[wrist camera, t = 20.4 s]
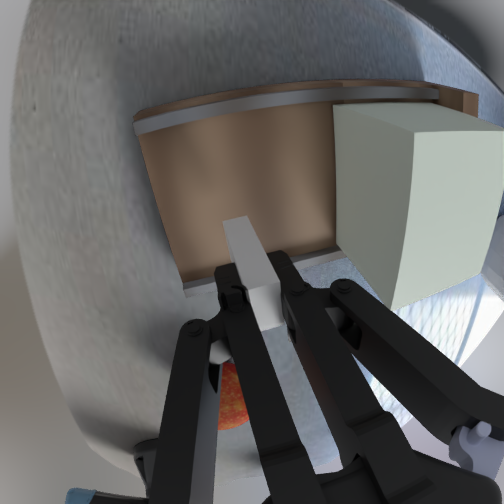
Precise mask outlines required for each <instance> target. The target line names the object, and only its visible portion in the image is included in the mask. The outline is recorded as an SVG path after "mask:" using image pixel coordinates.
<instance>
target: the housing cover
mask: <svg viewBox="0 0 504 504" xmlns="http://www.w3.org/2000/svg"><path fill="white" fill-rule="evenodd" d="M333 116H334V134H335V157H336V244H337V245H338V246H339V247H340V248H341V250H342V251H343V252H344V253H345V255H346V256H347V257H348V258H349V260H350V261H351V262H352V263H353V265H354V266H355V267H356V268H357V270H358V271H359V272H360V273H361V275H362V276H363V277H364V279H365V280H366V281H367V282H368V284H369V285H370V286H371V288H372V289H373V290H374V292H375V293H376V294H377V295H378V297H379V298H380V299H381V301H382V302H383V303H384V305H385V306H386V307H387V308H388V309H390V310H391V311H394V310H397V309H399V308H402V307H404V306H407V305H410V304H412V303H415V302H417V301H419V300H422V299H424V298H427V297H429V296H431V295H434V294H436V293H438V292H441V291H443V290H445V289H448V288H450V287H452V286H454V285H457V284H459V283H461V282H463V281H465V280H467V279H470V278H472V277H474V276H476V275H478V274H480V272H481V269H482V266H483V263H484V260H485V257H486V254H487V251H488V248H489V245H490V241H491V238H492V235H493V231H494V227H495V224H496V220H497V216H498V212H499V208H500V204H501V199H502V195H503V190H504V128H502V127H500V126H497V125H495V124H492V123H490V122H487V121H485V120H482V119H479V118H477V117H474V116H471V115H468V114H465V113H462V112H459V111H456V110H453V109H450V108H447V107H444V106H440V105H437V104H433V103H428V102H373V103H351V104H336V105H333Z"/></svg>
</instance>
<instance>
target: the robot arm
mask: <svg viewBox="0 0 504 504" xmlns="http://www.w3.org/2000/svg"><path fill="white" fill-rule="evenodd" d="M222 222H223V226H224V231H225V236H226V240H227V245H228V249H229V254H230V258H231V261H232V263H229V264H225V265H221V266H217V267H216V269H215V271H214V277H215V282H216V286H217V290H218V300H219V304H220V307H221V308H220V311H219V313H218V314H217V315H216V316H215V317H214V318H212V319H211V320H209V321H207V322H206V321H205V320H202V319H193V320H190V321H188V322H186V323H185V324H184V325H183V326H182V327H181V330H180V333H179V337H178V342H177V346H176V351H175V356H174V360H173V365H172V370H171V375H170V380H169V385H168V390H167V395H166V400H165V405H164V411H163V416H162V422H161V427H160V433H159V439H155V440H149V441H145V442H142V443H140V444H138V445H136V446H135V447H134V450H133V451H134V461H135V464H136V466H137V469H138V471H139V473H140V476H141V478H142V480H143V482H144V485H145V488H146V498H141V497H132V496H125V495H118V494H111V493H104V492H100V491H97V490H88V489H82V488H72V489H70V490H69V491H68V492H67V496H66V501H65V504H213V491H214V476H215V461H216V446H217V432H218V419H219V405H220V393H221V380H222V368H223V362H225V361H226V360H228V359H230V358H232V357H233V360H234V364H235V368H236V371H237V375H238V379H239V383H240V387H241V391H242V394H243V398H244V402H245V405H246V409H247V413H248V416H249V420H250V424H251V427H252V431H253V434H254V438H255V441H256V445H257V448H258V452H259V456H260V461H261V465H262V468H263V471H264V475H265V478H266V481H267V485H268V488H269V491H270V494H271V495H270V496H269V497H268V498H266V500H265V501H264V502H263V503H262V504H502V495H501V491H500V488H499V486H498V485H497V484H496V482H495V481H494V480H495V477H496V475H497V472H498V470H499V467H500V465H501V462H502V459H503V456H504V396H502V395H499V394H497V393H495V392H492V391H490V390H488V389H485V388H483V387H480V386H479V385H478V384H477V383H476V382H475V381H474V380H472V378H470V377H469V376H468V375H467V374H466V373H465V372H464V371H462V370H461V369H460V368H459V367H458V366H457V365H456V364H454V363H453V362H452V361H451V360H450V359H449V358H447V357H446V356H445V355H444V354H443V353H442V352H440V351H439V350H438V349H437V348H436V347H434V346H433V345H432V344H431V343H430V342H429V341H427V340H426V339H425V338H424V337H423V336H421V335H420V334H419V333H418V332H417V331H415V330H414V329H413V328H412V327H411V326H409V325H408V324H407V323H406V322H404V321H403V320H402V319H401V318H400V317H398V316H397V315H396V314H395V313H393V312H392V311H391V310H390V309H388V308H387V307H386V306H385V305H384V304H382V303H381V302H380V301H379V300H377V299H376V298H375V297H374V296H372V295H371V294H370V293H369V292H367V291H366V290H365V289H363V288H362V287H361V286H360V285H358V284H357V283H356V282H354V281H352V280H350V279H346V278H345V279H338V280H335V281H334V282H333V283H332V284H331V286H330V288H313V287H312V286H311V285H310V284H309V283H306V282H304V281H303V279H302V277H301V276H300V274H299V272H298V271H297V269H296V267H295V266H294V264H293V262H292V261H291V259H290V257H289V256H288V254H287V253H285V252H283V251H282V250H278V251H274V252H270V253H265V251H264V249H263V247H262V245H261V243H260V241H259V239H258V237H257V235H256V233H255V231H254V229H253V227H252V225H251V223H250V221H249V219H248V217H247V216H242V217H238V218H234V219H230V220H226V221H222ZM284 319H285V321H286V324H287V330H288V340H289V342H291V341H292V343H293V345H294V348H295V350H296V352H297V355H298V357H299V359H300V362H301V364H302V366H303V369H304V371H305V373H306V376H307V378H308V380H309V382H310V385H311V387H312V389H313V392H314V394H315V396H316V399H317V401H318V403H319V406H320V408H321V410H322V413H323V415H324V417H325V419H326V422H327V424H328V426H329V429H330V431H331V433H332V436H333V438H334V440H335V443H336V445H337V447H338V450H339V454H340V459H341V463H342V466H343V469H342V470H340V471H338V472H332V473H324V474H315V472H314V469H313V466H312V464H311V461H310V459H309V456H308V454H307V451H306V449H305V447H304V445H303V444H302V442H301V440H300V438H299V435H298V432H297V430H296V427H295V424H294V422H293V419H292V416H291V414H290V411H289V408H288V406H287V403H286V400H285V397H284V395H283V392H282V389H281V387H280V384H279V381H278V378H277V376H276V373H275V370H274V367H273V365H272V362H271V359H270V356H269V353H268V351H267V348H266V345H265V342H264V339H263V337H262V334H261V331H263V330H267V329H271V328H274V327H278V326H281V325H285V323H284ZM351 353H352V354H353V355H354V356H355V357H356V359H357V360H358V361H359V362H360V363H361V364H362V365H363V366H364V367H365V368H366V369H367V370H368V371H369V372H370V373H371V374H372V375H373V376H374V377H375V378H376V379H377V380H378V381H379V382H380V383H381V384H382V385H383V386H384V387H385V388H386V389H387V390H388V391H389V392H390V393H391V394H392V395H393V396H394V397H395V398H396V399H397V400H398V401H399V402H400V403H401V404H402V405H403V406H404V407H405V408H406V409H407V410H408V411H409V412H410V413H411V414H412V415H413V416H414V417H415V418H416V419H417V420H418V421H419V422H420V423H421V424H422V425H423V426H424V427H425V428H426V429H427V430H428V431H429V432H430V433H431V434H432V435H433V436H435V437H436V438H437V439H439V440H440V441H442V442H443V443H445V444H447V445H449V457H450V459H451V460H453V461H456V462H457V463H458V464H459V465H460V467H461V468H460V467H457V466H454V465H452V464H449V463H446V462H444V461H441V460H438V459H436V458H433V457H431V456H428V455H426V454H423V453H421V452H418V451H416V450H413V449H412V448H411V446H410V444H409V442H408V440H407V439H406V437H405V435H404V433H403V431H402V430H401V428H400V426H399V424H398V422H397V420H396V419H395V417H394V416H393V414H391V413H390V412H388V411H384V410H383V409H382V407H381V405H380V404H379V402H378V400H377V398H376V396H375V395H374V393H373V391H372V389H371V387H370V386H369V384H368V382H367V380H366V379H365V377H364V375H363V373H362V371H361V370H360V368H359V366H358V364H357V363H356V361H355V359H354V357H353V356H352V354H351Z"/></svg>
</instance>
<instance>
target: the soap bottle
mask: <svg viewBox="0 0 504 504" xmlns="http://www.w3.org/2000/svg"><path fill="white" fill-rule="evenodd" d="M480 273H481V275H482V277H483V279H484V281H485V282H486V284H487V285H488V286H489V287H490V288H491V289H492V290H493V291H494V292H495V293H496V294H497V295H498V297H499V298H500V299H501V300H502V301H503V302H504V215H502V216H500V217H499V218H498V219H497V220H496V224H495V227H494V231H493V235H492V238H491V241H490V245H489V248H488V251H487V254H486V257H485V260H484V263H483V266H482V269H481V272H480Z"/></svg>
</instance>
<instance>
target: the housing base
mask: <svg viewBox="0 0 504 504" xmlns="http://www.w3.org/2000/svg"><path fill="white" fill-rule="evenodd" d="M478 96H479V94H476V93H472V92H469V91H465V90H461V89H457V88H453V87H449V86H444V85H440V84H435V83H430V82H425V81H412V80H393V79H336V80H316V81H302V82H290V83H280V84H272V85H263V86H256V87H249V88H242V89H236V90H230V91H224V92H218V93H213V94H208V95H203V96H198V97H193V98H189V99H184V100H180V101H176V102H172V103H168V104H164V105H160V106H156V107H152V108H149V109H145V110H141V111H139V112H138V113H137V114H136V115H134V116H133V118H134V122H133V123H132V124H133V128H134V132H135V136H136V135H138V138H139V142H140V146H141V150H142V153H143V157H144V161H145V164H146V168H147V172H148V175H149V179H150V182H151V186H152V189H153V193H154V196H155V200H156V203H157V206H158V209H159V213H160V216H161V219H162V222H163V226H164V229H165V232H166V235H167V238H168V241H169V244H170V247H171V250H172V253H173V256H174V259H175V262H176V265H177V268H178V271H179V274H180V277H181V280H182V282H183V291H184V293H185V296H186V297H191V296H195V295H199V294H203V293H207V292H212V291H216V290H217V286H216V282H215V277H214V271H215V269H216V267H217V266H221V265H225V264H229V263H232V261H231V258H230V254H229V249H228V245H227V240H226V236H225V231H224V226H223V222H222V221H226V220H230V219H234V218H238V217H242V216H247V217H248V219H249V221H250V223H251V225H252V227H253V229H254V231H255V233H256V235H257V237H258V239H259V241H260V243H261V245H262V247H263V249H264V251H265V253H270V252H274V251H278V250H282V251H283V252H285V253H287V254H288V256H289V257H290V259H291V261H292V262H293V264H294V266H295V267H296V269H297V270H300V269H303V268H307V267H311V266H315V265H319V264H322V263H326V262H330V261H334V260H337V259H341V258H345V257H347V256H346V255H345V253H344V252H343V251H342V250H341V248H340V247H339V246H338V245H337V244H336V157H335V134H334V116H333V105H336V104H351V103H373V102H428V103H433V104H437V105H440V106H444V107H447V108H450V109H453V110H456V111H459V112H462V113H465V114H468V115H471V116H474V117H477V118H478Z"/></svg>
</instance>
